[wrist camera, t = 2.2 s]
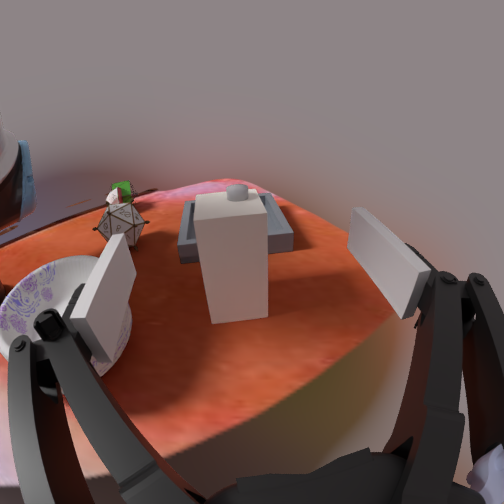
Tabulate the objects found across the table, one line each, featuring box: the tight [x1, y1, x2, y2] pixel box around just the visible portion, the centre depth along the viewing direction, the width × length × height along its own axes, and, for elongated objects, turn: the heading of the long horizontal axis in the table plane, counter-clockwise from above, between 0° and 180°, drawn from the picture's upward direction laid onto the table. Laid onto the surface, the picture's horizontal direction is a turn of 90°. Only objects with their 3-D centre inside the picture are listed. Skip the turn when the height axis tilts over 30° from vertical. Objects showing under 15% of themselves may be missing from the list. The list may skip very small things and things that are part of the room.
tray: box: [177, 193, 294, 264], centre depth 44 cm, size 16×16×3 cm
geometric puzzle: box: [106, 180, 138, 206], centre depth 55 cm, size 7×7×8 cm
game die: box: [92, 198, 150, 251], centre depth 40 cm, size 9×8×10 cm
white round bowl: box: [0, 255, 132, 394], centre depth 22 cm, size 15×15×8 cm
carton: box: [193, 184, 268, 324], centre depth 27 cm, size 6×6×13 cm
